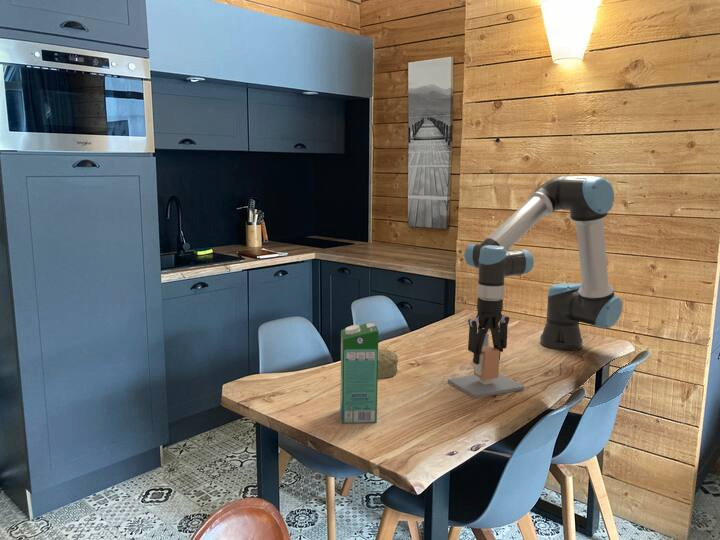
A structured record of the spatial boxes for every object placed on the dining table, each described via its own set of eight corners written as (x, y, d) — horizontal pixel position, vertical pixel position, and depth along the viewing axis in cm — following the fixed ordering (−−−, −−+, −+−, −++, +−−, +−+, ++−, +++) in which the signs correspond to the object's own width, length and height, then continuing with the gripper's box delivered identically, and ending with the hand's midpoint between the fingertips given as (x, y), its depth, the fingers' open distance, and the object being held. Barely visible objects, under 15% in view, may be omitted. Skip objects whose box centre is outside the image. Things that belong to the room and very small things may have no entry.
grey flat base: (495, 374, 195) (497, 344, 194) (523, 389, 183) (526, 357, 181) (447, 382, 188) (449, 351, 186) (474, 398, 176) (476, 365, 174)
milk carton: (340, 409, 167) (341, 321, 162) (373, 408, 167) (374, 320, 163) (342, 423, 158) (343, 330, 153) (376, 422, 158) (378, 330, 154)
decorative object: (399, 384, 195) (403, 354, 199) (390, 376, 187) (394, 345, 191) (372, 382, 199) (376, 353, 203) (362, 374, 190) (366, 344, 194)
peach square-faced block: (487, 372, 188) (489, 345, 187) (498, 377, 184) (499, 350, 182) (473, 374, 186) (475, 347, 185) (483, 380, 182) (485, 352, 180)
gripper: (506, 292, 188) (502, 364, 192) (457, 297, 180) (454, 372, 184) (522, 298, 181) (518, 372, 185) (472, 303, 173) (468, 380, 178)
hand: (486, 372), depth 185 cm, fingers closed on peach square-faced block, 5 cm apart
